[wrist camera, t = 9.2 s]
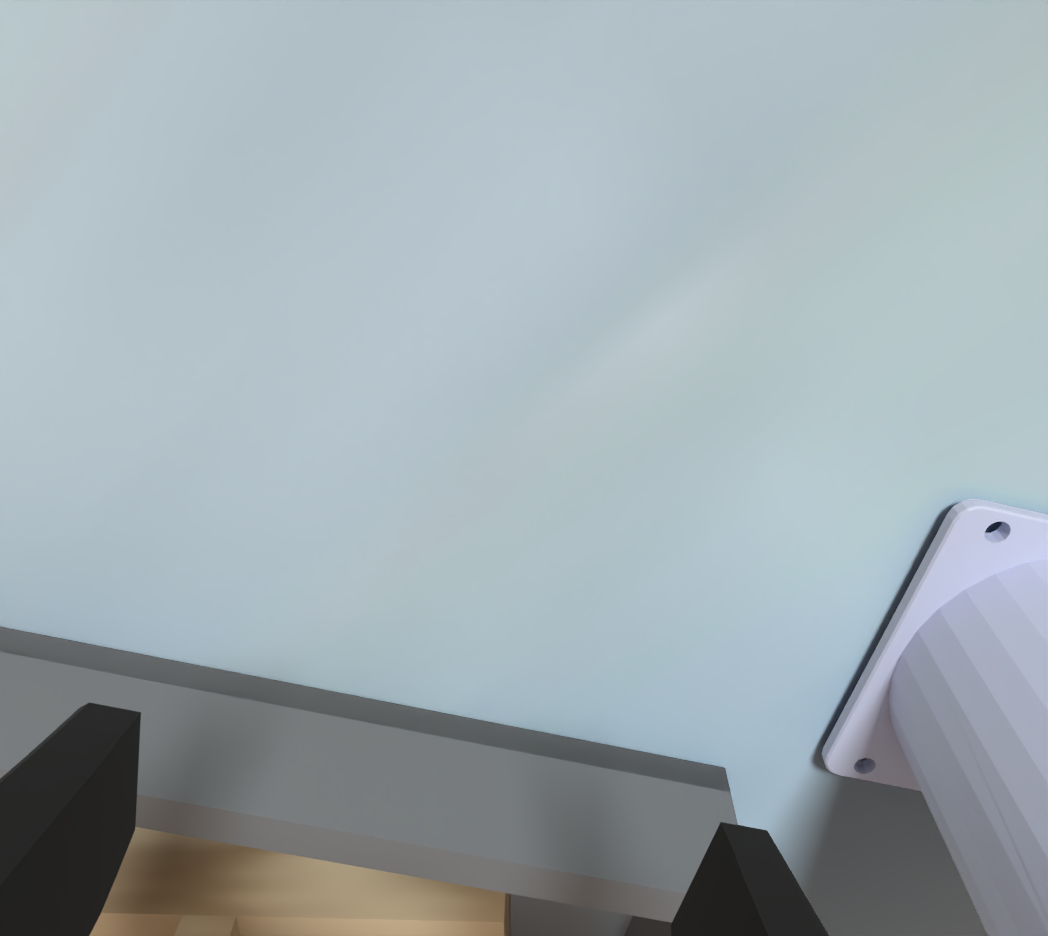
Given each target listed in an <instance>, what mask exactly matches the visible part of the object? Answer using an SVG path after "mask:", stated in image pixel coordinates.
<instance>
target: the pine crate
mask: <svg viewBox="0 0 1048 936" xmlns="http://www.w3.org/2000/svg"><path fill="white" fill-rule="evenodd" d="M89 936H511V894H509V893H503V892H497V891H492V890H486V889H481V888H475V887H469V886H464V885H458V884H453V883H447V882H441V881H436V880H430V879H425V878H419V877H413V876H408V875H402V874H397V873H391V872H385V871H380V870H374V869H368V868H363V867H357V866H352V865H346V864H340V863H335V862H329V861H324V860H318V859H312V858H307V857H301V856H296V855H290V854H284V853H279V852H273V851H268V850H262V849H256V848H251V847H245V846H240V845H234V844H228V843H223V842H217V841H212V840H206V839H200V838H195V837H189V836H183V835H178V834H172V833H167V832H161V831H155V830H150V829H144V828H139V827H135V831H134V834H133V836H132V839H131V841H130V844H129V846H128V849H127V851H126V854H125V856H124V859H123V861H122V864H121V866H120V869H119V871H118V874H117V876H116V878H115V881H114V883H113V886H112V888H111V890H110V893H109V895H108V898H107V900H106V902H105V905H104V907H103V909H102V912H101V914H100V916H99V918H98V920H97V922H96V924H95V926H94V928H93V930H92V932H91V933H90V935H89Z"/></svg>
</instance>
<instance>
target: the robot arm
mask: <svg viewBox="0 0 1048 936" xmlns="http://www.w3.org/2000/svg"><path fill="white" fill-rule="evenodd" d="M995 522H1002V524H1001V526H1000V527H999V528H998V529H997V530H995V531H993V532H991V533H985V531H986V529H987V528H988V527H989V525H990V524H993V523H995ZM140 722H141V712H137V711H132V710H127V709H121V708H116V707H111V706H105V705H100V704H95V703H90V702H89V703H87V704H85V705H84V706H82V707H80V708H79V709H77V710H76V711H75V712H74V713H73V714H72V715H71V716H70V717H69V718H68V719H67V720H66V721H64V722H63V723H62V724H61V725H60V726H59V727H58V728H57V729H56V730H55V731H54V732H52V733H51V734H50V735H49V736H48V737H47V738H46V739H45V740H44V741H42V742H41V743H40V744H39V745H38V746H37V747H36V748H35V749H34V750H32V751H31V752H30V753H29V754H28V755H27V756H26V757H25V758H23V759H22V760H21V761H20V762H19V763H18V764H17V765H15V766H14V767H13V768H12V769H11V770H10V771H8V772H7V773H6V774H5V775H4V776H3V777H1V778H0V936H89V935H90V933H91V932H92V930H93V928H94V926H95V924H96V922H97V920H98V918H99V916H100V914H101V912H102V909H103V907H104V905H105V902H106V900H107V898H108V895H109V893H110V890H111V888H112V886H113V883H114V881H115V878H116V876H117V874H118V871H119V869H120V866H121V864H122V861H123V859H124V856H125V854H126V851H127V849H128V846H129V844H130V841H131V839H132V836H133V834H134V831H135V824H136V804H137V784H138V763H139V743H140ZM822 757H823V760H824V763H825V766H826V768H827V769H828V770H829V771H830V772H831V773H834V774H836V775H841V776H846V777H851V778H856V779H861V780H866V781H871V782H876V783H881V784H886V785H892V786H897V787H902V788H907V789H912V790H917V791H921V792H922V794H923V796H924V798H925V801H926V803H927V805H928V807H929V809H930V812H931V814H932V816H933V818H934V820H935V822H936V825H937V827H938V829H939V831H940V833H941V835H942V838H943V840H944V842H945V844H946V846H947V848H948V851H949V853H950V855H951V857H952V859H953V861H954V864H955V866H956V868H957V870H958V872H959V874H960V877H961V879H962V881H963V883H964V885H965V887H966V890H967V892H968V894H969V896H970V898H971V900H972V903H973V905H974V907H975V909H976V911H977V914H978V916H979V918H980V920H981V922H982V924H983V927H984V929H985V931H986V933H987V935H988V936H1048V514H1043V513H1039V512H1034V511H1030V510H1026V509H1021V508H1017V507H1012V506H1008V505H1004V504H999V503H995V502H990V501H986V500H982V499H968V500H964V501H961V502H959V503H958V504H956V505H955V506H953V507H952V508H951V510H950V511H949V512H948V513H947V515H946V517H945V519H944V521H943V523H942V525H941V526H940V528H939V530H938V532H937V534H936V536H935V538H934V540H933V542H932V543H931V545H930V547H929V549H928V551H927V553H926V555H925V557H924V558H923V560H922V562H921V564H920V566H919V568H918V570H917V572H916V574H915V575H914V577H913V579H912V581H911V583H910V585H909V587H908V589H907V591H906V592H905V594H904V596H903V598H902V600H901V602H900V604H899V606H898V608H897V609H896V611H895V613H894V615H893V617H892V619H891V621H890V623H889V624H888V626H887V628H886V630H885V632H884V634H883V636H882V638H881V640H880V641H879V643H878V645H877V647H876V649H875V651H874V653H873V655H872V657H871V658H870V660H869V662H868V664H867V666H866V668H865V670H864V672H863V673H862V675H861V677H860V679H859V681H858V683H857V685H856V687H855V689H854V690H853V692H852V694H851V696H850V698H849V700H848V702H847V704H846V706H845V707H844V709H843V711H842V713H841V715H840V717H839V719H838V721H837V723H836V724H835V726H834V728H833V730H832V732H831V734H830V736H829V738H828V739H827V741H826V743H825V745H824V747H823V750H822ZM863 758H868V759H867V760H864V761H862V762H857V761H858V760H860V759H863ZM671 936H829V935H828V933H827V932H826V930H825V928H824V927H823V925H822V923H821V922H820V920H819V918H818V917H817V915H816V913H815V911H814V910H813V908H812V906H811V905H810V903H809V901H808V899H807V898H806V896H805V894H804V893H803V891H802V889H801V888H800V886H799V884H798V882H797V881H796V879H795V877H794V875H793V874H792V872H791V870H790V869H789V867H788V865H787V864H786V862H785V860H784V858H783V857H782V855H781V853H780V852H779V850H778V848H777V847H776V845H775V843H774V842H773V840H772V838H771V837H770V835H769V833H768V831H766V830H761V829H756V828H750V827H745V826H740V825H735V824H729V823H724V822H720V824H719V826H718V828H717V830H716V833H715V835H714V837H713V839H712V841H711V843H710V845H709V847H708V849H707V851H706V853H705V855H704V857H703V859H702V862H701V864H700V866H699V868H698V870H697V872H696V874H695V876H694V878H693V880H692V882H691V884H690V886H689V888H688V890H687V893H686V895H685V897H684V899H683V901H682V903H681V905H680V907H679V909H678V911H677V913H676V915H675V917H674V919H673V921H672V924H671Z"/></svg>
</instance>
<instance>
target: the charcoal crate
mask: <svg viewBox="0 0 1048 936" xmlns="http://www.w3.org/2000/svg"><path fill="white" fill-rule="evenodd" d="M89 702H90V703H95V704H100V705H105V706H111V707H116V708H121V709H127V710H132V711H137V712H141V722H140V743H139V763H138V784H137V804H136V824H135V827H139V828H144V829H150V830H155V831H161V832H167V833H172V834H178V835H183V836H189V837H195V838H200V839H206V840H212V841H217V842H223V843H228V844H234V845H240V846H245V847H251V848H256V849H262V850H268V851H273V852H279V853H284V854H290V855H296V856H301V857H307V858H312V859H318V860H324V861H329V862H335V863H340V864H346V865H352V866H357V867H363V868H368V869H374V870H380V871H385V872H391V873H397V874H402V875H408V876H413V877H419V878H425V879H430V880H436V881H441V882H447V883H453V884H458V885H464V886H469V887H475V888H481V889H486V890H492V891H497V892H503V893H509V894H511V936H671V924H672V921H673V919H674V917H675V915H676V913H677V911H678V909H679V907H680V905H681V903H682V901H683V899H684V897H685V895H686V893H687V890H688V888H689V886H690V884H691V882H692V880H693V878H694V876H695V874H696V872H697V870H698V868H699V866H700V864H701V862H702V859H703V857H704V855H705V853H706V851H707V849H708V847H709V845H710V843H711V841H712V839H713V837H714V835H715V833H716V830H717V828H718V826H719V824H720V822H724V823H729V824H735V825H738V824H737V819H736V815H735V810H734V806H733V802H732V797H731V793H730V788H729V784H728V779H727V775H726V770H725V768H723V767H718V766H713V765H707V764H702V763H697V762H692V761H687V760H682V759H677V758H671V757H666V756H661V755H656V754H651V753H646V752H641V751H635V750H630V749H625V748H620V747H615V746H610V745H605V744H599V743H594V742H589V741H584V740H579V739H574V738H569V737H563V736H558V735H553V734H548V733H543V732H538V731H533V730H528V729H522V728H517V727H512V726H507V725H502V724H497V723H492V722H486V721H481V720H476V719H471V718H466V717H461V716H456V715H450V714H445V713H440V712H435V711H430V710H425V709H420V708H414V707H409V706H404V705H399V704H394V703H389V702H384V701H378V700H373V699H368V698H363V697H358V696H353V695H348V694H342V693H337V692H332V691H327V690H322V689H317V688H312V687H306V686H301V685H296V684H291V683H286V682H281V681H276V680H271V679H265V678H260V677H255V676H250V675H245V674H240V673H235V672H229V671H224V670H219V669H214V668H209V667H204V666H199V665H193V664H188V663H183V662H178V661H173V660H168V659H163V658H157V657H152V656H147V655H142V654H137V653H132V652H127V651H121V650H116V649H111V648H106V647H101V646H96V645H91V644H85V643H80V642H75V641H70V640H65V639H60V638H55V637H49V636H44V635H39V634H34V633H29V632H24V631H19V630H14V629H8V628H3V627H0V778H1V777H3V776H4V775H5V774H6V773H7V772H8V771H10V770H11V769H12V768H13V767H14V766H15V765H17V764H18V763H19V762H20V761H21V760H22V759H23V758H25V757H26V756H27V755H28V754H29V753H30V752H31V751H32V750H34V749H35V748H36V747H37V746H38V745H39V744H40V743H41V742H42V741H44V740H45V739H46V738H47V737H48V736H49V735H50V734H51V733H52V732H54V731H55V730H56V729H57V728H58V727H59V726H60V725H61V724H62V723H63V722H64V721H66V720H67V719H68V718H69V717H70V716H71V715H72V714H73V713H74V712H75V711H76V710H77V709H79V708H80V707H82V706H84V705H85V704H87V703H89Z"/></svg>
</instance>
